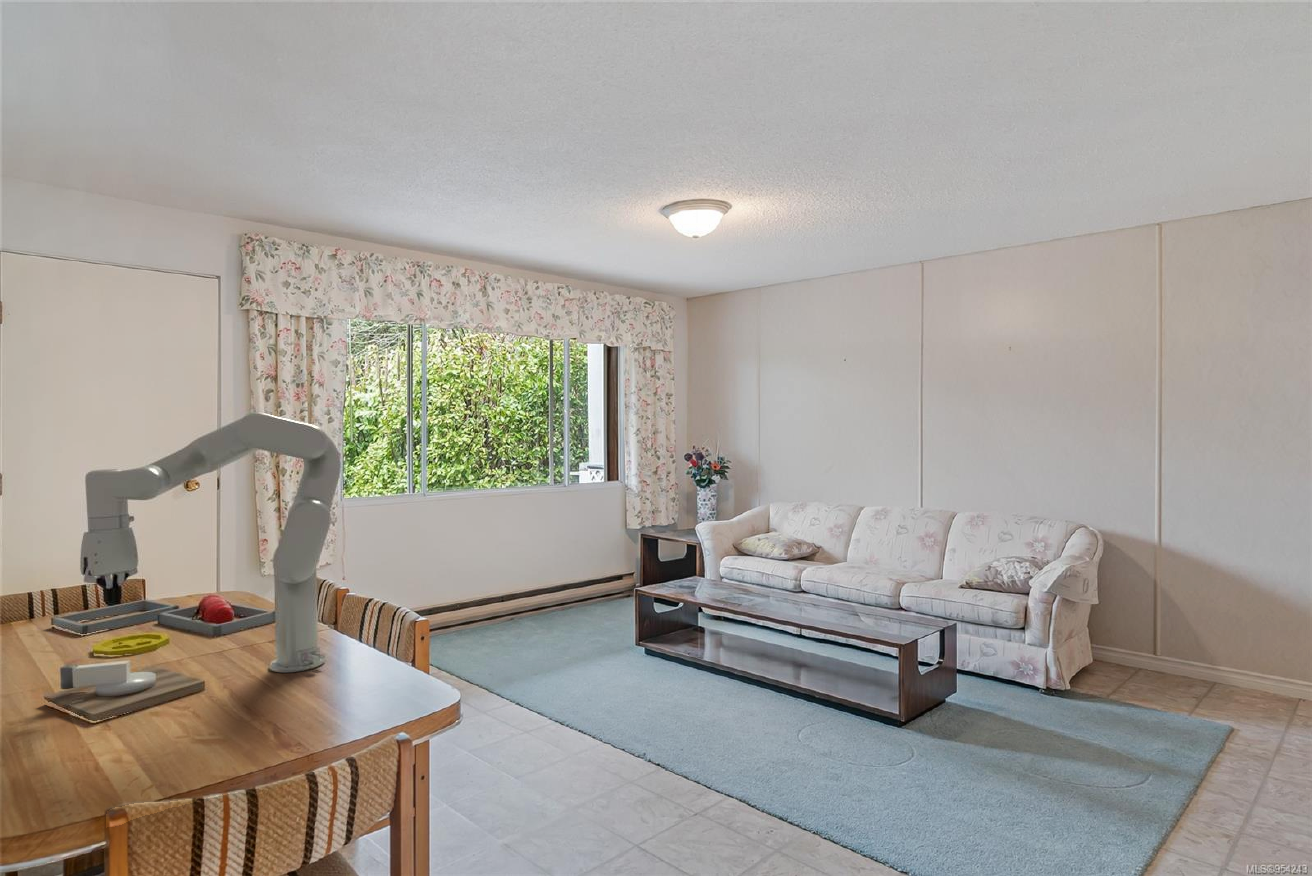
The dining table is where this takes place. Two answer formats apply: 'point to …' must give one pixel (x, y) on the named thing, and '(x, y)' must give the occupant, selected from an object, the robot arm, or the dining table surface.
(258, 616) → the tray
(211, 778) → the dining table surface
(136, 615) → the tray
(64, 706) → the dial plate
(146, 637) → the decorative disc
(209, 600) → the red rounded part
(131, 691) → the dial
